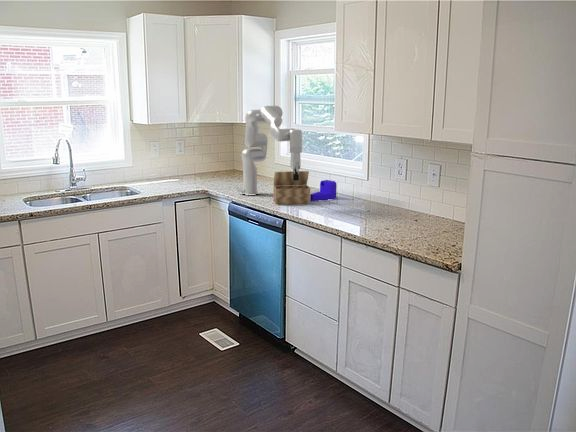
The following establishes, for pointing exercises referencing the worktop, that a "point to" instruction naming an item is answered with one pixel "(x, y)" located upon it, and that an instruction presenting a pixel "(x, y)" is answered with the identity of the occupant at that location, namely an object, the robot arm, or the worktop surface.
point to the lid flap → (290, 178)
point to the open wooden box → (291, 194)
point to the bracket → (325, 191)
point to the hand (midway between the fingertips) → (295, 180)
